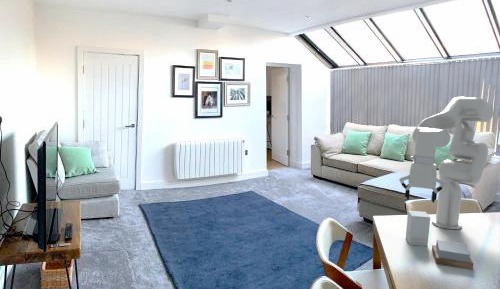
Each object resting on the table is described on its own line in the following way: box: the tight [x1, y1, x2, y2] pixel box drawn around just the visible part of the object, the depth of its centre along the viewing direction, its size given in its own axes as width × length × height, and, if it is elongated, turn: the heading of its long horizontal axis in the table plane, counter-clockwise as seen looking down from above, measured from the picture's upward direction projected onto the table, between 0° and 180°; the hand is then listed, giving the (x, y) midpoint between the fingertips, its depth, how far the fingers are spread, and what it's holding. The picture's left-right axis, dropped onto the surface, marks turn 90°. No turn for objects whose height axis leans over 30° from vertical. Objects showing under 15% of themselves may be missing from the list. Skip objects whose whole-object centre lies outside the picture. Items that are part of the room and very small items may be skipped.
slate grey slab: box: [435, 239, 471, 263], centre depth 139 cm, size 10×10×3 cm
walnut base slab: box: [431, 244, 475, 271], centre depth 140 cm, size 12×12×3 cm
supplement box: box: [405, 210, 431, 247], centre depth 155 cm, size 7×7×13 cm
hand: (420, 200), depth 152 cm, fingers open, 9 cm apart
